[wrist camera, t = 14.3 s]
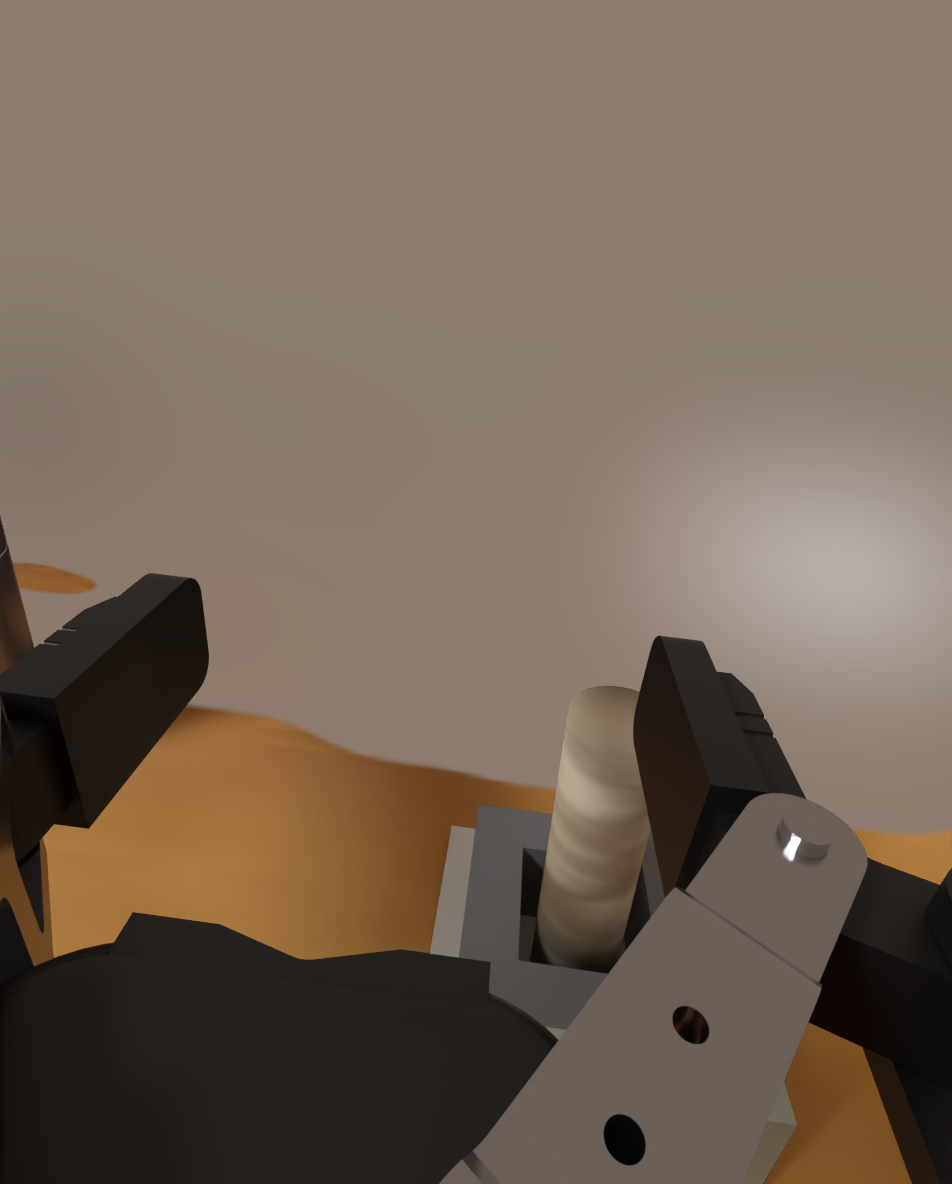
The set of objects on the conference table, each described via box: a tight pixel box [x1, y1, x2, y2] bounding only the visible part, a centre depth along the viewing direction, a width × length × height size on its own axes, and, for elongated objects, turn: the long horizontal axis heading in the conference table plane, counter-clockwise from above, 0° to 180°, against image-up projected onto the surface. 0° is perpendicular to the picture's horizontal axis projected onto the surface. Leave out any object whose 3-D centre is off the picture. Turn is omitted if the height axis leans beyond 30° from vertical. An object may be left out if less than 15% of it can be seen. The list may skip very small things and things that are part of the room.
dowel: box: [530, 686, 651, 974], centre depth 28 cm, size 4×4×16 cm
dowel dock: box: [430, 804, 797, 1184], centre depth 31 cm, size 14×16×6 cm
